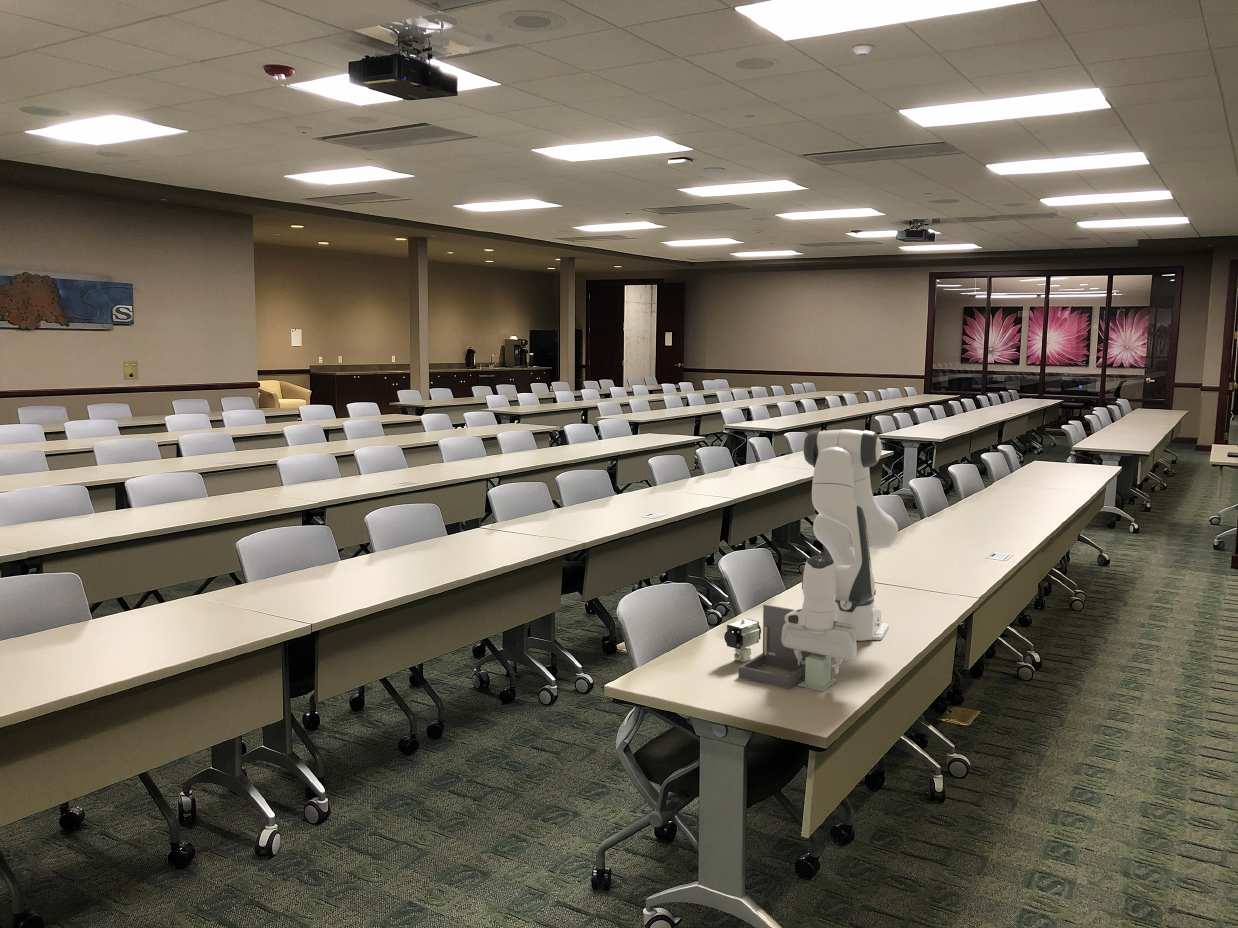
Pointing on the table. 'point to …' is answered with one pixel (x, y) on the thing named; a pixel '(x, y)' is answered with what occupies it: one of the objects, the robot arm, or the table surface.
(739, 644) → the pneumatic valve
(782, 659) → the case
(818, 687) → the pad
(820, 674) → the block
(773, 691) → the table surface
